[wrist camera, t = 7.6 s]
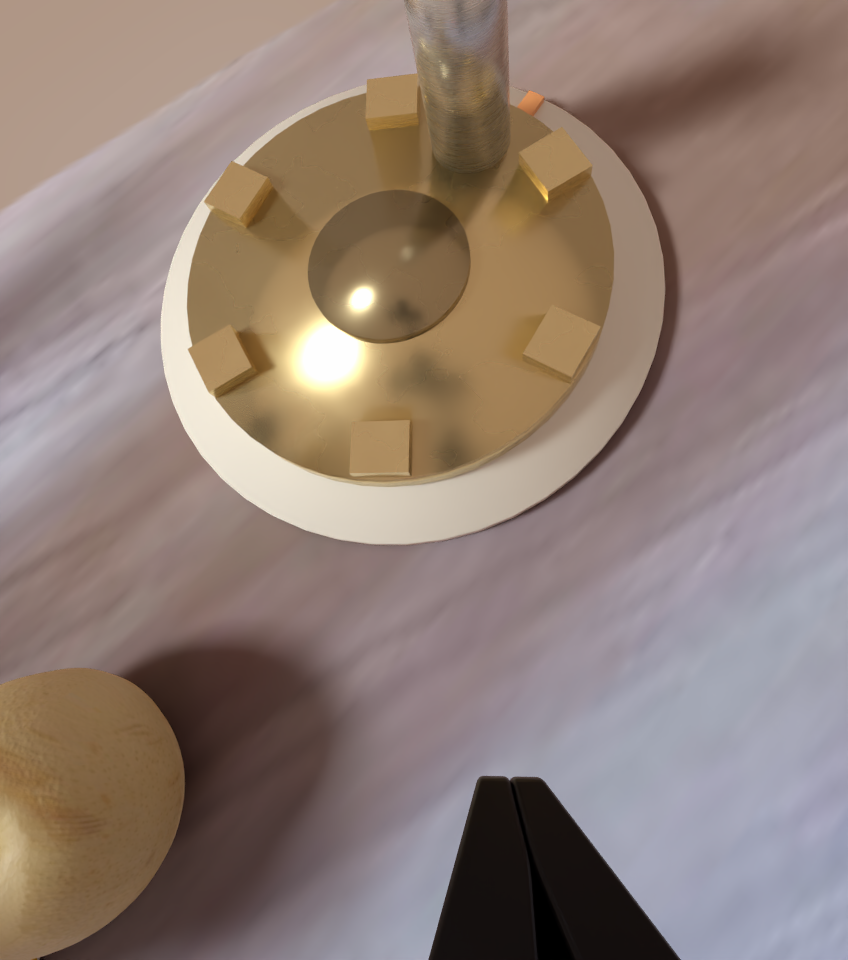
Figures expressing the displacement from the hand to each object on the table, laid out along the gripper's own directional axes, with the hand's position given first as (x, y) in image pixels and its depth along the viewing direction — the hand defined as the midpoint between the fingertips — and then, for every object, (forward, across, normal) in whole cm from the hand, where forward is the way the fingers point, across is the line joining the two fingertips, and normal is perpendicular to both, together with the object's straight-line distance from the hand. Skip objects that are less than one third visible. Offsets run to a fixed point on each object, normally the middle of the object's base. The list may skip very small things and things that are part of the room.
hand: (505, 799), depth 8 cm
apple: (+11, +12, +12) cm, 20 cm away
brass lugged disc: (+20, +2, -5) cm, 20 cm away
